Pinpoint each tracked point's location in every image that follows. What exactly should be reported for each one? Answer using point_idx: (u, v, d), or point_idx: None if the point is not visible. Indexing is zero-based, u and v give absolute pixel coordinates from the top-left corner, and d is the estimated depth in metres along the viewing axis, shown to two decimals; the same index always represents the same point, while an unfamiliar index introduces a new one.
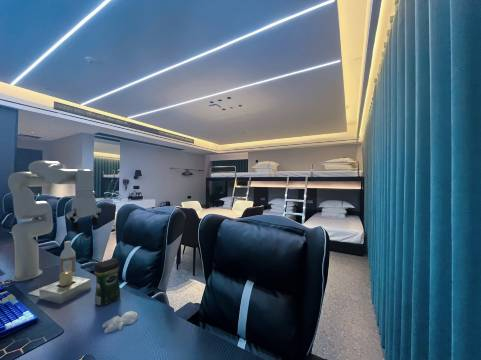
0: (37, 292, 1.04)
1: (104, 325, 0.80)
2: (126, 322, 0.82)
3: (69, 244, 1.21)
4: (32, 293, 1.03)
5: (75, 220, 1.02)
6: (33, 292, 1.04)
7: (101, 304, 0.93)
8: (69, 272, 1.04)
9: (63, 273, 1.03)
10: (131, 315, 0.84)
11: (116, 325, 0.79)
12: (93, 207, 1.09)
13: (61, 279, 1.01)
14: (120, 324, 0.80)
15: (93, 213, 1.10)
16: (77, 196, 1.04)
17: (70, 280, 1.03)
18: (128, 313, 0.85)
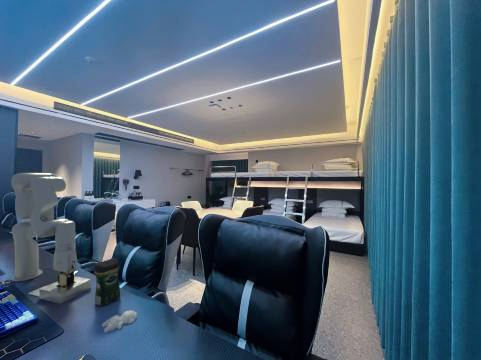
0: (37, 292, 1.04)
1: (103, 324, 0.80)
2: (125, 321, 0.82)
3: None
4: (32, 293, 1.03)
5: None
6: (33, 292, 1.04)
7: (101, 304, 0.93)
8: None
9: (63, 273, 1.03)
10: (131, 314, 0.84)
11: (116, 324, 0.80)
12: None
13: (61, 279, 1.01)
14: (120, 323, 0.80)
15: None
16: (71, 249, 1.03)
17: None
18: (127, 312, 0.85)
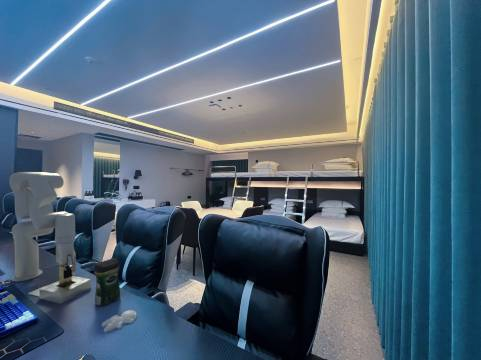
0: (37, 292, 1.04)
1: (103, 324, 0.81)
2: (125, 321, 0.82)
3: None
4: (32, 293, 1.03)
5: (71, 267, 1.03)
6: (33, 292, 1.04)
7: (101, 304, 0.93)
8: None
9: (63, 265, 1.03)
10: (130, 314, 0.84)
11: (115, 324, 0.80)
12: None
13: (59, 271, 1.01)
14: (119, 323, 0.80)
15: None
16: (68, 242, 1.01)
17: None
18: (127, 312, 0.85)
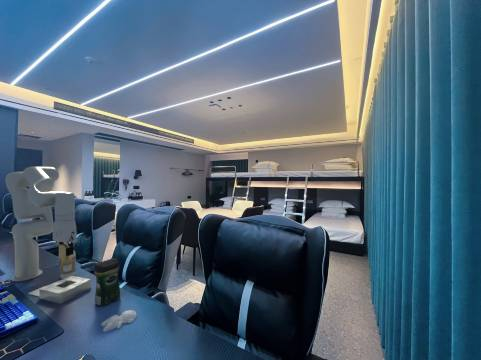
0: (37, 292, 1.04)
1: (103, 324, 0.81)
2: (125, 321, 0.82)
3: None
4: (32, 293, 1.03)
5: None
6: (33, 292, 1.04)
7: (101, 304, 0.93)
8: None
9: (63, 244, 1.03)
10: (130, 314, 0.85)
11: (115, 324, 0.80)
12: None
13: (60, 249, 1.01)
14: (119, 323, 0.81)
15: None
16: (70, 219, 1.02)
17: None
18: (127, 312, 0.85)
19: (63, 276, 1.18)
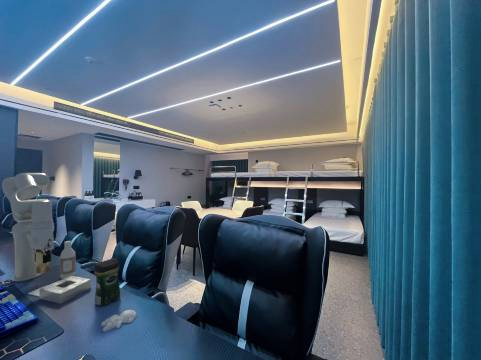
0: (37, 292, 1.04)
1: (103, 323, 0.81)
2: (124, 320, 0.82)
3: (69, 244, 1.21)
4: (32, 293, 1.03)
5: None
6: (33, 292, 1.04)
7: (101, 304, 0.93)
8: (46, 250, 1.06)
9: (40, 251, 1.04)
10: (130, 314, 0.85)
11: (115, 323, 0.80)
12: None
13: (37, 257, 1.03)
14: (118, 322, 0.81)
15: None
16: (47, 227, 1.04)
17: None
18: (127, 312, 0.85)
19: (63, 276, 1.18)
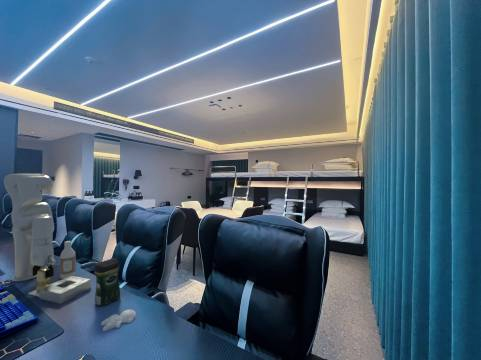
0: None
1: (103, 323, 0.81)
2: (124, 320, 0.83)
3: (69, 244, 1.21)
4: (32, 293, 1.03)
5: None
6: (33, 292, 1.04)
7: (101, 304, 0.93)
8: None
9: (41, 270, 1.05)
10: (129, 313, 0.85)
11: (114, 323, 0.80)
12: None
13: (39, 276, 1.03)
14: (118, 322, 0.81)
15: None
16: (47, 243, 1.04)
17: None
18: (126, 311, 0.86)
19: (63, 276, 1.18)
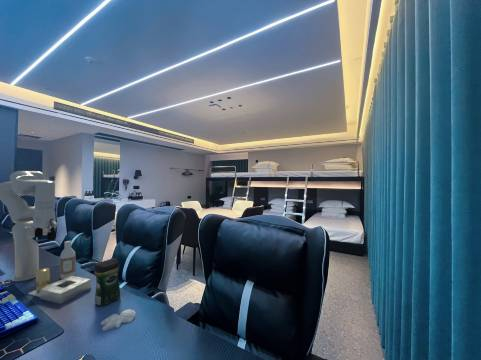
0: None
1: (102, 323, 0.81)
2: (124, 320, 0.83)
3: (69, 244, 1.21)
4: (32, 293, 1.03)
5: None
6: (33, 292, 1.04)
7: (101, 304, 0.93)
8: (46, 269, 1.06)
9: (40, 271, 1.05)
10: (129, 313, 0.85)
11: (114, 323, 0.80)
12: None
13: (38, 276, 1.03)
14: (118, 322, 0.81)
15: None
16: (50, 207, 1.07)
17: (47, 277, 1.05)
18: (126, 311, 0.86)
19: (63, 276, 1.18)
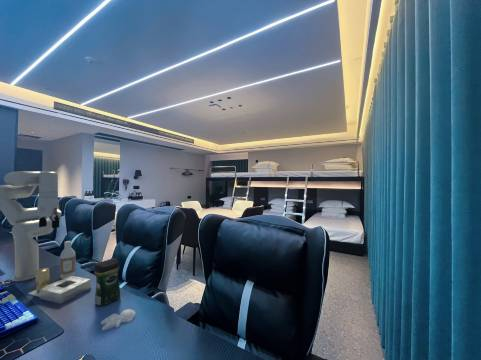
0: None
1: (102, 322, 0.81)
2: (124, 320, 0.83)
3: (69, 244, 1.21)
4: (32, 293, 1.03)
5: None
6: (33, 292, 1.04)
7: (101, 304, 0.93)
8: (46, 270, 1.06)
9: (40, 271, 1.05)
10: (129, 313, 0.85)
11: (114, 323, 0.81)
12: None
13: (38, 276, 1.03)
14: (118, 322, 0.81)
15: None
16: (53, 196, 1.11)
17: (47, 277, 1.05)
18: (126, 311, 0.86)
19: (63, 276, 1.18)
